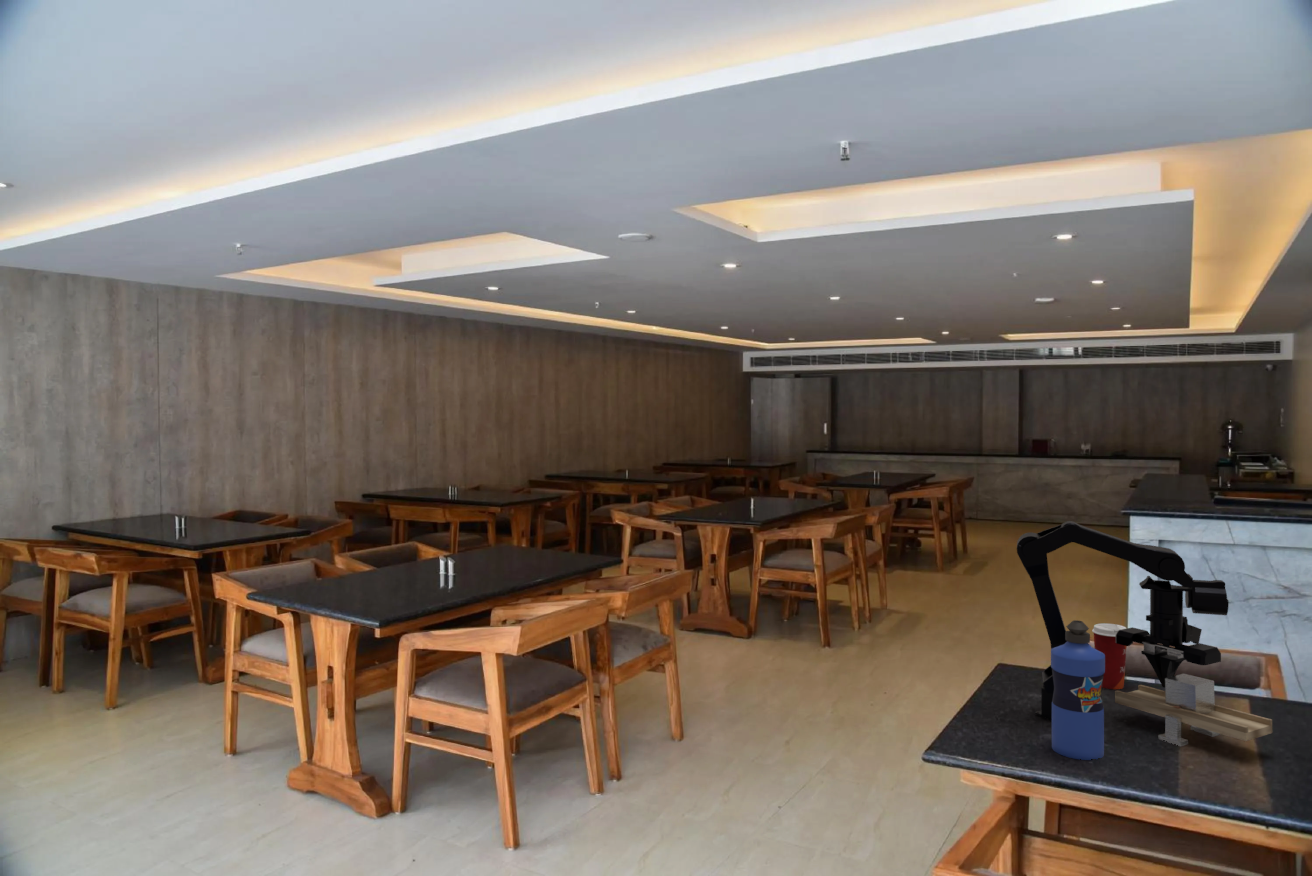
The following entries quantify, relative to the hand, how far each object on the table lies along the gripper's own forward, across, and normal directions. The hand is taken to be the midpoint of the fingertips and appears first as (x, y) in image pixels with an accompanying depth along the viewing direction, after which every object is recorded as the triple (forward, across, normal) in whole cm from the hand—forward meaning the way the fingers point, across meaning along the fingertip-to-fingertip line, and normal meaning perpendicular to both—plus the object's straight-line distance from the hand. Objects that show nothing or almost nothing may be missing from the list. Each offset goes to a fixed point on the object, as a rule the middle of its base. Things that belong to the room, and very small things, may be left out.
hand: (1165, 687), depth 176 cm
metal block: (+3, -5, 0) cm, 6 cm away
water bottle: (+9, +1, +25) cm, 27 cm away
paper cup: (+9, +23, -15) cm, 29 cm away
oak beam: (+5, -5, 0) cm, 7 cm away
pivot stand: (+9, -5, 0) cm, 10 cm away
